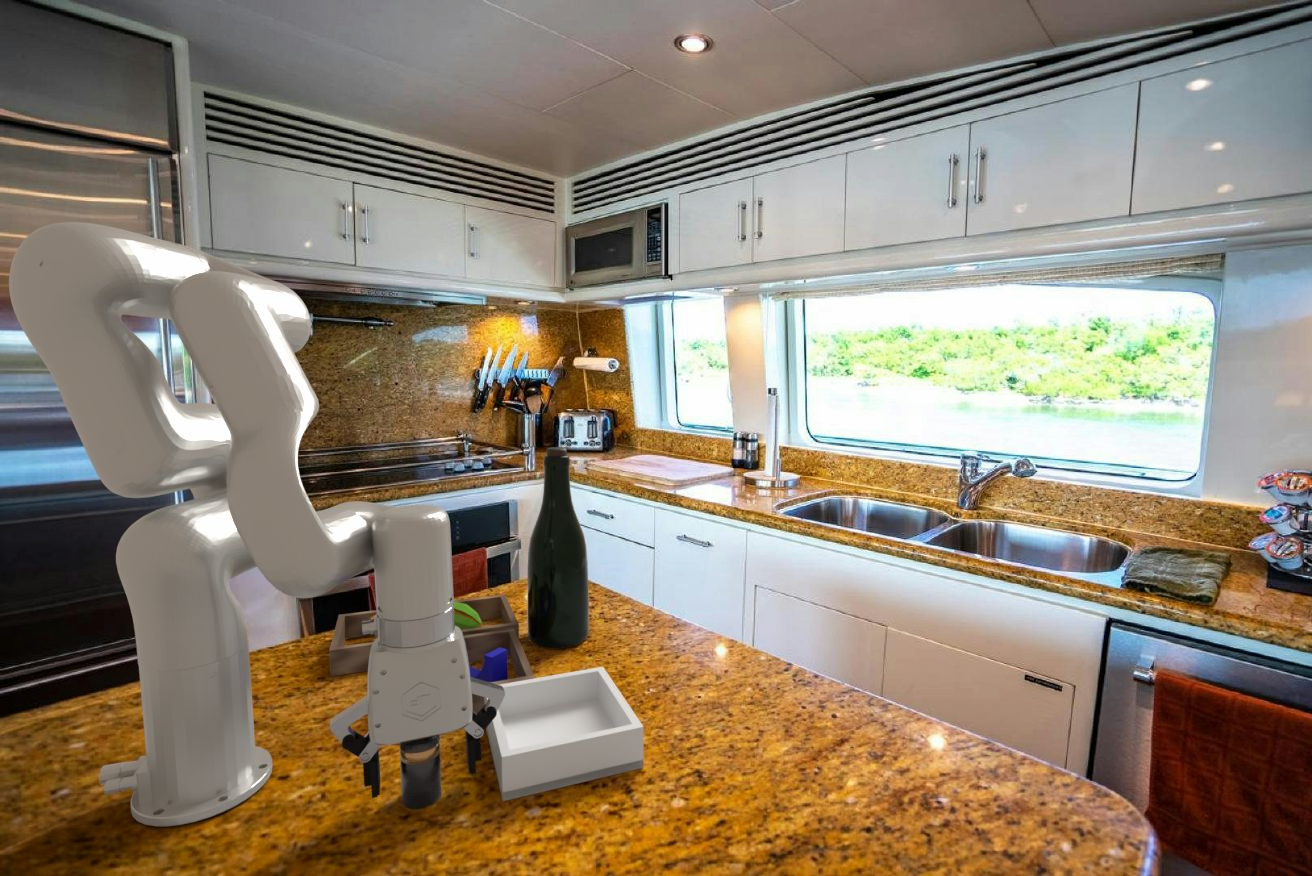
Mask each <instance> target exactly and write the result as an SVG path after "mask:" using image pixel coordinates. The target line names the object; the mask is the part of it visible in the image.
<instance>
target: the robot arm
mask: <svg viewBox="0 0 1312 876" xmlns="http://www.w3.org/2000/svg"><path fill="white" fill-rule="evenodd" d="M8 288H9V289H8V290H9V297H10V303H11V305H12V309H13V312H14V314H15V316H16V318H17V321H18V323H19V325H20V327H21V329H22V331H23V332H24V334H25V336H26V337H27V339H28V341H29V343H30V344H31V345H32V347H33V348H34V350H35V352H36V353H37V355H38V357H40V359H41V360H42V362H43V363H44V366H45V367H46V368H47V370H48V371H49V373H50V375H51V376H52V379H53V381H54V383H55V384H56V385H55V386H56V387H57V390H58V391H59V394H60V396H61V398H62V402H63V404H64V406H65V409H66V411H67V413H68V414H69V417H70V419H71V421H72V424H73V426H74V428H75V431H76V432H77V434H78V437H79V438H80V441H81V444H82V445H83V447H84V448H83V449H84V450H85V452H86V454H87V457H88V459H89V461H90V463H91V465H92V466H93V470H94V471H95V473H96V475H97V476H98V478H99V479H100V482H102V484H103V485H104V486H105V487H106V488H107V490H109V491H110V492H111V493H113V494H115V495H118V496H121V497H123V498H126V499H127V498H128V499H129V498H132V499H143V498H152V497H156V496H161V495H167V494H172V493H177V492H180V491H185V490H190V491H191V493H192V495H193V499H190V500H187V501H186V500H185V501H182V502H179V503H175V504H171V505H169V506H165V507H162V508H158V509H155V510H154V511H151V512H149V513H147V514H145V515H144V516H142V517H140V518H139V519H137V520H136V521H135V522H133V523H132V524H131V525H130V526H129V527H128V528H127V529H126V531H124V533H123V534H122V536H121V537H120V540H119V542H118V543H117V546H116V553H115V565H116V568H117V573H118V576H119V580H120V581H121V585H122V587H123V590H124V592H125V595H126V598H127V602H128V605H129V609H130V613H131V616H132V621H133V622H132V623H133V629H134V635H135V636H134V637H135V644H136V653H137V654H136V656H137V664H138V673H139V684H140V696H141V707H142V718H143V719H142V721H143V731H144V743H145V753H146V754H145V755H141V756H139V757H138V758H137V760H132V761H127V762H126V761H122V762H116V763H111V764H106V765H103V766H102V767H101V769H100V771H99V775H98V781H99V783H98V784H99V785H100V786H104V787H103V794H104V795H106V796H107V795H112V794H116V793H122V792H124V791H128V790H132V791H133V793H132V796H131V798H130V813H131V815H132V817H133V819H135V821H137V822H138V823H141V824H142V825H145V826H152V827H173V826H175V827H176V826H182V825H186V824H191V823H196V822H198V821H199V822H200V821H202V820H206V819H209V818H212V817H214V816H217V815H218V814H221V813H224V812H225V811H228V810H230V809H232V808H234V807H236V806H238V805H239V804H241V803H243V802H244V801H246V800H247V799H249V798H250V797H251V796H253V795H254V794H256V793H257V791H259V790H260V789H261V788H262V787H263V786H264V785H265V784H266V782H267V781H268V780H269V778H271V774H272V771H273V757H272V755H271V753H270V752H269V751H268V750H266V749H265V748H264V747H260V746H258V745H256V741H255V739H256V738H255V725H254V724H255V723H254V710H253V709H254V708H253V693H252V680H251V677H252V676H251V662H250V660H251V659H250V648H249V647H250V646H249V645H250V644H249V638H248V637H249V635H248V626H247V625H248V623H247V619H246V615H245V612H244V610H243V608H242V605H241V604H240V602H239V601H238V600H237V598H236V597H235V594H234V593H233V592H232V589H231V587H230V580H232V579H234V578H236V577H237V576H239V575H241V574H242V575H243V573H246V572H248V571H250V570H253V569H255V568H257V569H258V570H259V571H260V573H261V574H262V575H263V576H264V578H265V580H267V581H268V583H270V585H271V586H272V587H274V588H275V590H277V591H279V592H281V593H283V594H284V595H287V596H289V597H293V598H297V599H309V598H311V599H312V598H315V597H320V596H322V595H324V594H327V593H329V592H330V591H332V590H334V589H336V588H337V587H340V585H343V584H344V583H346V582H347V581H348V580H350V579H352V578H354V577H356V576H357V575H360V574H362V573H365V572H367V571H370V570H372V569H373V570H374V571H373V572H374V586H375V587H374V588H375V602H376V603H375V604H376V605H375V606H376V610H377V615H374V618H372V619H370V620H368V621H362V634H371V635H370V636H373V635H372V634H375V635H374V637H375V639H374V640H373V641H372V642H373V644H372V646H371V650H370V656H369V664H368V671H367V687H366V688H367V695H366V696H363V698H361V699H360V700H358V701H356V702H355V703H352V705H350V706H349V707H347V708H346V709H344V710H342V711H341V712H339V713H338V714H336V715H335V716H333V717H332V718H331V720H330V723H329V730H330V732H331V733H332V735H334V737H335V738H336V739H337V740H338V741H339V742H340V743H341V747H342V748H343V749H344V750H346V751H348V752H350V753H351V754H352V755H354V756H356V757H357V758H358V760H359V762H361V763H362V768H363V785H364V788H366V787H367V788H368V787H371V798H372V799H375V798H378V796H380V793H381V764H380V752H379V751H380V748H381V746H390V745H396V744H397V745H398V744H400V743H402V742H407V741H412V740H417V739H422V738H427V737H431V736H436V735H444V734H445V735H446V734H449V733H452V732H453V733H454V732H457V731H460V730H464V731H465V745H466V746H465V747H466V748H465V749H466V763H467V767H468V768H467V770H468V774H470V775H471V776H472V775H476V774H477V762H479V761H482V760H483V759H482V755H483V754H482V737H483V736H484V733H485V732H484V731H485V730H486V728H487V726H488V725H489V724H490V723H491V722H492V720H493V719H494V718H495V717H496V715H497V710H498V708H499V707H500V705H501V703H502V701H503V698H504V696H505V691H504V688H503V687H502V686H500V685H497V684H494V683H490V682H487V681H483V680H480V679H476V678H473V677H470V669H469V664H470V662H469V661H468V654H467V649H466V644H465V640H464V637H463V633H462V631H461V629H460V628H459V627H457V626H455V617H454V601H455V598H454V579H453V576H454V574H453V558H452V539H451V538H452V537H451V536H452V535H451V524H450V523H451V521H450V517H449V514H448V513H447V511H446V510H445V509H444V508H442V507H440V506H436V505H431V504H411V505H400V506H395V505H394V506H393V505H388V504H387V505H386V504H381V503H374V502H369V501H361V500H360V501H359V500H358V501H357V500H354V501H347V502H342V503H339V504H337V505H333V506H332V507H329V508H325V509H322V510H319V511H317V510H315V508H314V505H313V504H312V502H311V500H310V498H309V496H308V494H307V492H306V490H305V487H304V485H303V481H302V478H301V474H300V470H299V469H300V468H299V460H298V459H299V457H298V455H299V448H300V444H301V441H302V439H303V436H304V434H305V432H306V430H307V429H308V428H309V425H311V423H312V421H313V420H314V418H315V417H316V416H317V414H318V412H319V409H320V403H319V401H320V400H319V398H318V397H317V395H316V393H315V391H314V389H313V387H312V385H311V383H310V381H309V379H308V377H307V376H306V373H305V371H304V370H303V368H302V366H301V364H300V362H299V360H298V358H297V357H296V353H297V352H299V351H301V349H303V348H304V346H305V345H306V344H307V343H308V341H309V338H310V336H311V331H312V320H311V316H310V315H311V314H310V312H309V309H308V308H307V305H306V304H305V303H304V301H303V299H302V298H301V297H300V296H299V295H298V294H297V293H296V292H295V291H294V290H293V289H291V288H289V287H288V285H285V284H283V283H280V282H278V281H276V280H273V279H270V278H268V277H265V276H263V275H260V274H258V273H256V272H252V271H250V270H248V269H245V268H243V267H240V266H238V265H236V264H234V263H231V262H229V261H228V260H227V261H226V260H224V259H222V258H220V257H218V256H217V257H216V256H215V255H212V254H210V253H207V252H205V251H202V250H199V249H197V248H194V247H191V246H187V245H184V244H182V243H181V244H180V243H176V242H172V241H168V240H164V239H160V238H156V237H153V236H148V235H145V234H141V233H138V232H134V231H130V230H126V229H122V228H119V227H118V228H117V227H113V226H108V225H104V224H98V223H92V222H80V221H66V222H57V223H50V224H47V225H45V226H41V227H39V228H37V229H35V230H34V231H32V232H31V233H29V234H28V235H27V236H26V237H25V238H24V239H23V240H22V242H21V243H20V245H19V246H18V248H17V249H16V251H15V253H14V255H13V258H12V262H11V265H10V268H9V276H8ZM123 315H124V316H125V315H126V316H134V317H144V318H153V319H162V320H169V321H171V323H172V325H173V327H174V329H175V332H176V334H177V335H178V337H179V339H180V341H181V343H182V345H183V347H184V348H185V350H186V352H187V354H188V356H189V358H190V360H191V361H192V364H193V366H194V367H195V369H196V371H197V373H198V375H199V377H200V378H201V381H202V382H203V384H204V386H205V387H206V389H207V392H208V394H209V395H210V396H211V397H210V398H211V399H212V401H213V402H214V403H209V402H208V403H207V402H188V403H185V402H184V403H182V402H180V401H179V399H177V397H176V396H175V393H174V392H173V391H172V389H171V386H170V384H169V382H168V380H167V378H166V375H165V372H164V371H163V370H164V369H163V368H162V366H161V364H160V362H159V360H158V358H157V356H155V354H154V353H153V352H152V350H151V349H150V348H149V347H148V346H147V345H146V343H144V342H143V340H142V339H141V338H140V337H138V335H137V334H135V332H133V331H132V330H131V329H130V328H129V327H128V326H127V325H126V324H125V323H124V321H123V320H122V316H123ZM472 694H475V695H479V696H483V697H486V698H488V701H487V703H486V704H485V705H484V706H483V708H482V709H481V710H480V711H479V712H478V713H477V714H476V713H475V712H474V711H473V706H472ZM366 715H367V726H368V732H367V733H366V734H364V735H362V734H361V733H359V732H357V731H356V730H354V729H352V727H351V725H352V724H353V723H355V722H356V721H358V720H360V719H361V718H363V717H365V716H366Z"/></svg>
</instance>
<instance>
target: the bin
mask: <svg viewBox="0 0 1312 876" xmlns="http://www.w3.org/2000/svg"><path fill="white" fill-rule="evenodd" d="M500 686H502V687H503V688H504V691H505V696H504V698H503V701H502V703H501V705H500V707H499V708H498V710H497V715H496V717H495V718H494V719H493V720H492V722H491V723H490V724H489V725H488V726H487V728H486V729H485V730H486V735H487V739H488V742H489V743H488V744H489V747H490V751H491V756H492V760H493V765H494V769H495V774H496V777H497V783H498V788H499V790H500V796H501V799H502V802H506V801H510V800H515V799H517V798H518V799H519V798H523V797H527V796H531V795H535V794H536V795H537V794H539V793H545V792H548V791H552V790H556V789H560V788H564V787H568V786H572V785H576V784H580V783H581V784H582V783H585V782H589V781H594V780H598V779H602V778H606V777H609V776H615V775H618V774H622V773H627V772H632V771H635V770H640V769H643V768H644V738H645V737H644V732H645V731H644V729H645V728H644V725H643V724H642V722H641V721H640V720H639V718H638V716H637V715H636V714H635V712H634V711H633V709H632V707H631V706H630V705H629V703H628V702H627V700H626V699H625V697H624V696H623V694H622V693H621V691H620V689H619V688H618V687H617V686H616V684H615V682H614V681H613V679H612V677H610V675H609V673H608V672H607V670H606V669H605V667H604V666H599V667H598V666H597V667H593V668H588V669H581V670H575V671H569V672H564V673H563V672H562V673H559V674H554V675H545V676H542V677H541V676H540V677H537V678H536V677H535V678H534V679H529V680H523V681H517V682H511V683H505V684H500ZM487 701H488V698H486V697H484V704H486V703H487Z"/></svg>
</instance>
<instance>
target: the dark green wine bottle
mask: <svg viewBox="0 0 1312 876" xmlns="http://www.w3.org/2000/svg"><path fill="white" fill-rule="evenodd" d="M545 452H546V454H545V455H544V456H543V461H542V463H543V493H542V500H541V501H542V502H541V505H540V510H539V512H538V516H537V518H536V519H537V520H536V521H535V525H534V527H533V530H532V532H531V535H530V537H529V544H528V550H527V583H526V584H527V595H526V596H527V599H526V600H527V601H526V602H527V604H526V605H527V606H526V607H527V612H526V614H527V615H526V617H527V618H526V619H527V620H526V623H527V637H528V639H529V641H530V642H531V643H532V644H533V645H536V646H538V647H540V648H544V649H551V650H552V649H553V650H554V649H566V648H569V647H573V646H577V645H578V644H581V643H583V642H585V640H586V639H587V638H588V636H589V634H590V604H589V603H590V602H589V568H588V566H589V565H588V562H589V561H588V549H587V543H586V538H585V534H584V531H583V529H582V527H581V524H580V521H579V519H578V518H579V517H578V516H577V513H576V511H575V507H574V503H573V500H572V498H573V497H572V494H571V493H572V492H571V482H570V481H571V480H570V479H571V477H570V475H571V474H570V465H571V459H570V456H569V455H568V453H567V452H568V451H567V448H566V447H560V446H559V447H558V446H555V447H554V446H553V447H548V448H546V451H545Z"/></svg>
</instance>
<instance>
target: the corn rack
mask: <svg viewBox="0 0 1312 876" xmlns="http://www.w3.org/2000/svg"><path fill="white" fill-rule="evenodd" d="M454 602H458V603H463V604H467V605H468V606H470V607H471V608H472V609H473V610H475V611H476V612H477V613H478V615H479V617H480V619H481V621H487V620H494V619H501V621H502V623H501V624H493V625H485V626H482V627H478V628H471V629H463V630H461V631H462V633H463V636H465V635H472V634H479V633H486V632H493V631H500V630H507V629H515V632H516V634H517V636H518V639H519V640H520V628H519V627H520V625H519V622H518V619H517V618H516V616H515V613H514V611H513V608H512V606H511V603H510V602H509V600H508V597H507V596H506V594H499V595H498V594H497V595H490V596H482V597H475V598H467V599H466V598H465V599H458V600H456V599H455V600H454ZM376 614H377V609H376V610H375V609H374V610H368V611H359V612H350V613H343V614H338V616H337V620H336V625H335V628H334V632H333V636H332V640H331V642H330V646H329V650H328V651H329V668H330V669H329V670H330V673H329V674H330V677H335V676H341V675H347V674H354V673H361V672H368V664H369V656H370V650H371V646H372V644H373V641H371V642H370V641H369V642H365V643H363V642H362V643H357V644H355V643H354V644H350V645H349V644H348V645H346V640H347V639H355V638H362V637H369V636H375V634H372V635H371V634H362V621H368V620H370V618H371V617H373V616H374V615H376Z"/></svg>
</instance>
